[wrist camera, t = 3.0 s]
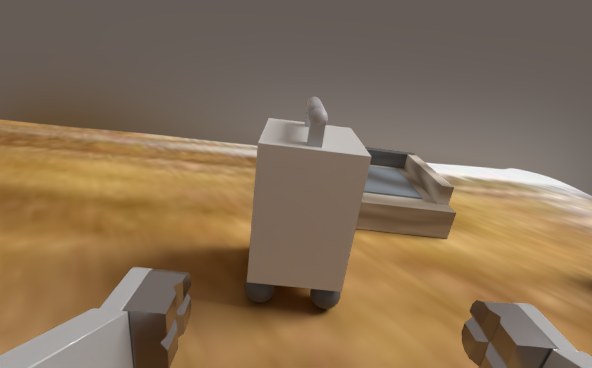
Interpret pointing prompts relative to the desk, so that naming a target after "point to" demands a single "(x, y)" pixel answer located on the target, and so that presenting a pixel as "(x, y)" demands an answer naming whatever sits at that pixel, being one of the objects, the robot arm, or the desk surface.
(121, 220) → the desk surface
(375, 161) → the dock
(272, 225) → the trolley
